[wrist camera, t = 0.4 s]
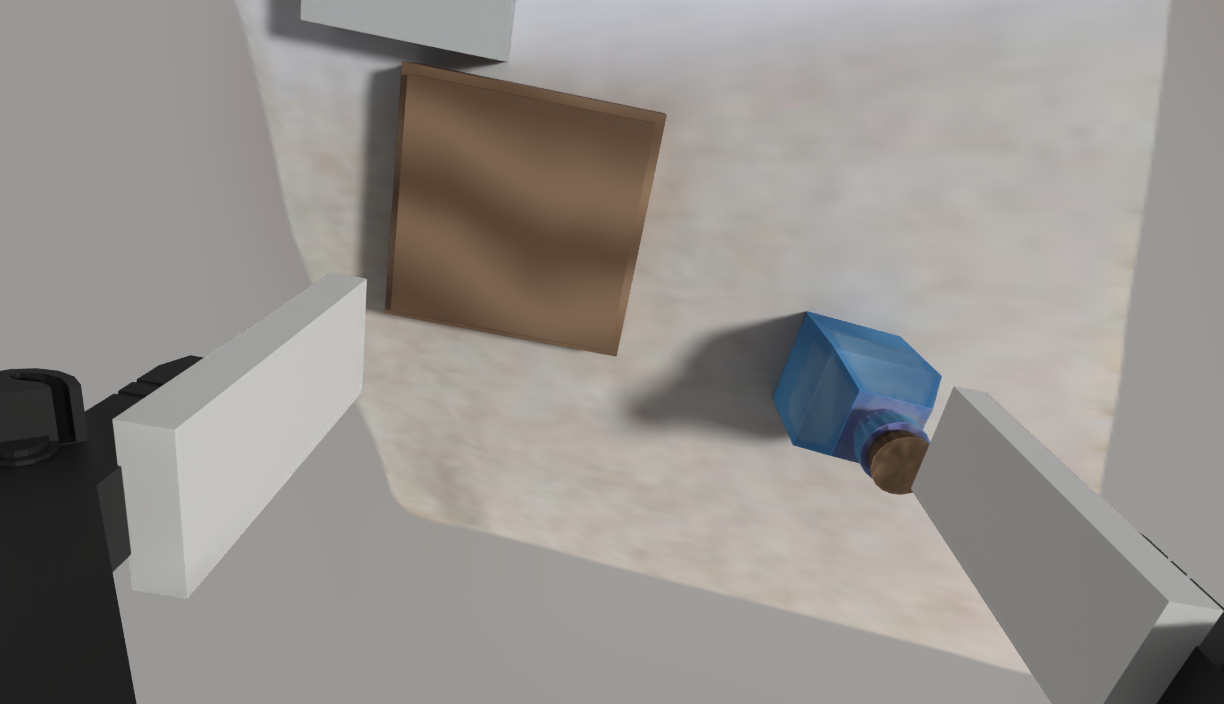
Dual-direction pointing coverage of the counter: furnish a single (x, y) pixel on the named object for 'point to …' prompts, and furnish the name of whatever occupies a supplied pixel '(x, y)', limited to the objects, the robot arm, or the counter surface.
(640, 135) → the walnut stand
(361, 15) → the grey stand
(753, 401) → the counter surface
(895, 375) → the perfume bottle
